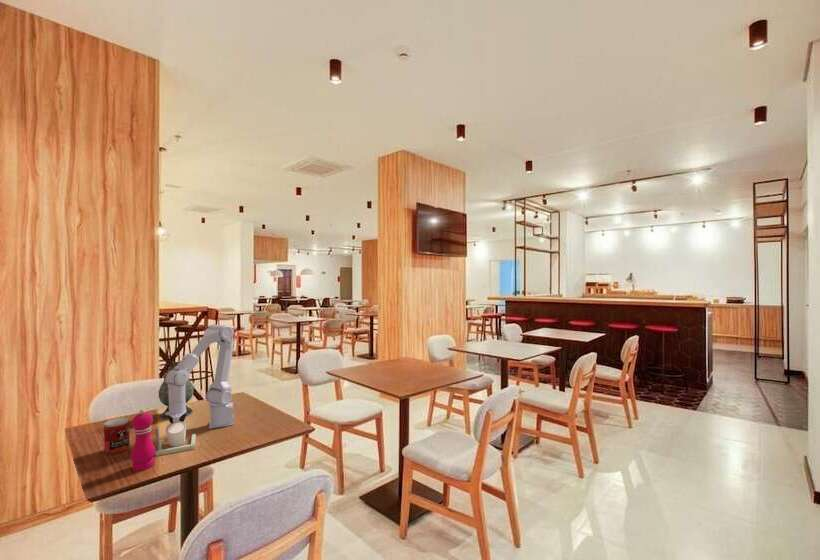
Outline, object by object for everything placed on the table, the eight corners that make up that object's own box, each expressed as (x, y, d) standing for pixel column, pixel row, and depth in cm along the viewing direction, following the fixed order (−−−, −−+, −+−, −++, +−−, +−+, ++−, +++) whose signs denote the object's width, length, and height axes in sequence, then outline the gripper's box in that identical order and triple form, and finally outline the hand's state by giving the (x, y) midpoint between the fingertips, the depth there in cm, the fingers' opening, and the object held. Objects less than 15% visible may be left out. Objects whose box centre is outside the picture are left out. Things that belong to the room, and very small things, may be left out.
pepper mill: (138, 462, 139) (137, 406, 139) (160, 461, 140) (159, 405, 139) (125, 472, 132) (124, 413, 132) (148, 471, 132) (147, 412, 132)
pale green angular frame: (195, 437, 160) (195, 413, 159) (194, 448, 149) (193, 422, 149) (152, 444, 153) (152, 419, 153) (148, 457, 142) (147, 430, 142)
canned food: (110, 456, 143) (109, 426, 143) (100, 451, 148) (100, 422, 147) (133, 448, 150) (133, 420, 150) (124, 443, 154) (123, 416, 154)
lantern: (152, 419, 180) (151, 365, 179) (171, 408, 194) (170, 358, 194) (182, 419, 179) (181, 365, 179) (199, 408, 194) (198, 358, 193)
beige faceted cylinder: (179, 450, 150) (178, 436, 147) (162, 445, 151) (161, 431, 148) (191, 436, 156) (190, 423, 154) (175, 432, 157) (174, 419, 154)
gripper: (167, 396, 161) (167, 429, 161) (163, 407, 148) (164, 443, 148) (187, 394, 164) (187, 426, 164) (184, 404, 151) (185, 439, 151)
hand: (177, 434), depth 156 cm, fingers closed
